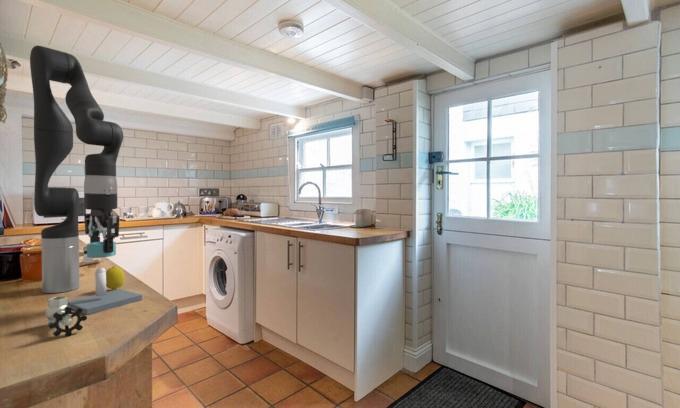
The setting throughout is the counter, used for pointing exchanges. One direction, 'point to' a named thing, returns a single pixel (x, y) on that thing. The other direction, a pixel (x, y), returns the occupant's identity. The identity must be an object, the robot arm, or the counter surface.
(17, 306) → the counter surface
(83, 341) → the counter surface
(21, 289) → the counter surface
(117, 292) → the post stand
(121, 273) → the lemon
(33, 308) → the counter surface
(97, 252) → the collar
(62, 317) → the valve
